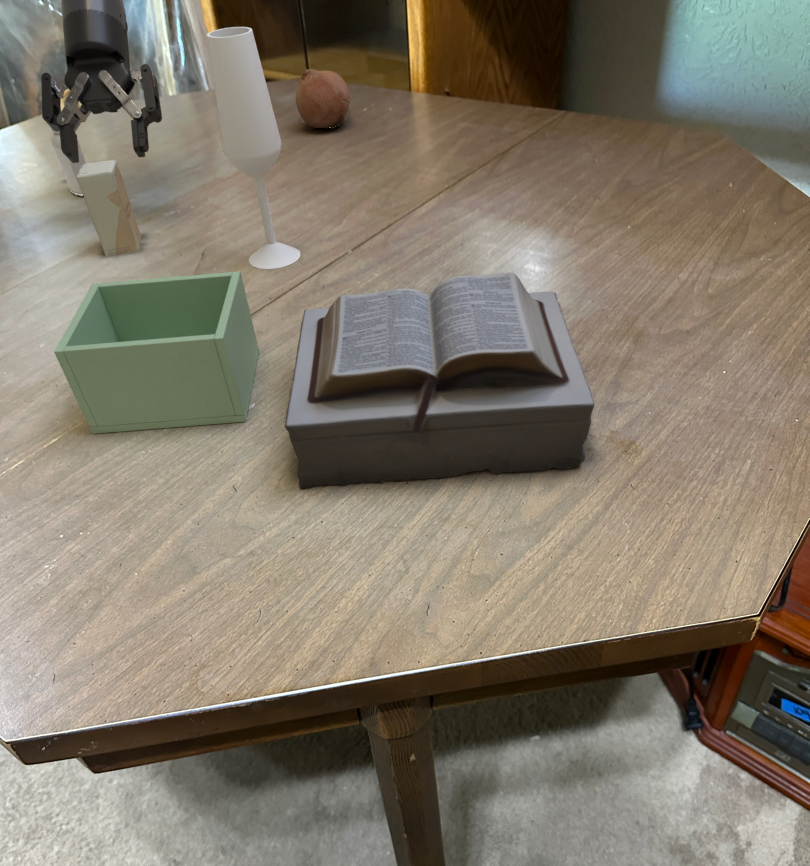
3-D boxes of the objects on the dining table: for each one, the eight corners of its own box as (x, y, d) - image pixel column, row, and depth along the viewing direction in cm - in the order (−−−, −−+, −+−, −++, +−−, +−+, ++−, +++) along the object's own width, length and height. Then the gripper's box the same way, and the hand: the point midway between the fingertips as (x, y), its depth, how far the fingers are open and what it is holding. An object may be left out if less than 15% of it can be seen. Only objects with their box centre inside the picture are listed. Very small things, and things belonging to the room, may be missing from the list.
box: (141, 262, 94) (111, 172, 86) (108, 267, 93) (74, 177, 85) (145, 246, 97) (116, 157, 89) (113, 250, 97) (81, 162, 89)
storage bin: (92, 434, 68) (53, 351, 61) (123, 361, 76) (92, 283, 70) (246, 421, 67) (223, 337, 61) (259, 350, 76) (240, 270, 70)
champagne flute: (271, 273, 89) (223, 42, 72) (237, 260, 92) (184, 36, 75) (311, 254, 92) (274, 28, 75) (277, 241, 95) (235, 22, 78)
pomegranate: (308, 147, 131) (275, 91, 125) (344, 118, 133) (314, 62, 127) (331, 137, 123) (298, 77, 118) (370, 106, 125) (338, 46, 120)
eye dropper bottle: (66, 199, 111) (33, 113, 103) (71, 187, 115) (39, 102, 107) (95, 195, 112) (64, 109, 103) (99, 183, 116) (69, 98, 107)
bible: (585, 508, 56) (601, 404, 49) (258, 486, 61) (230, 388, 54) (584, 349, 72) (597, 253, 65) (325, 341, 77) (310, 250, 70)
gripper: (23, 11, 87) (34, 146, 87) (139, 1, 87) (151, 135, 87) (54, 53, 94) (64, 176, 95) (161, 43, 94) (172, 167, 94)
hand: (106, 157), depth 91 cm, fingers open, 8 cm apart
